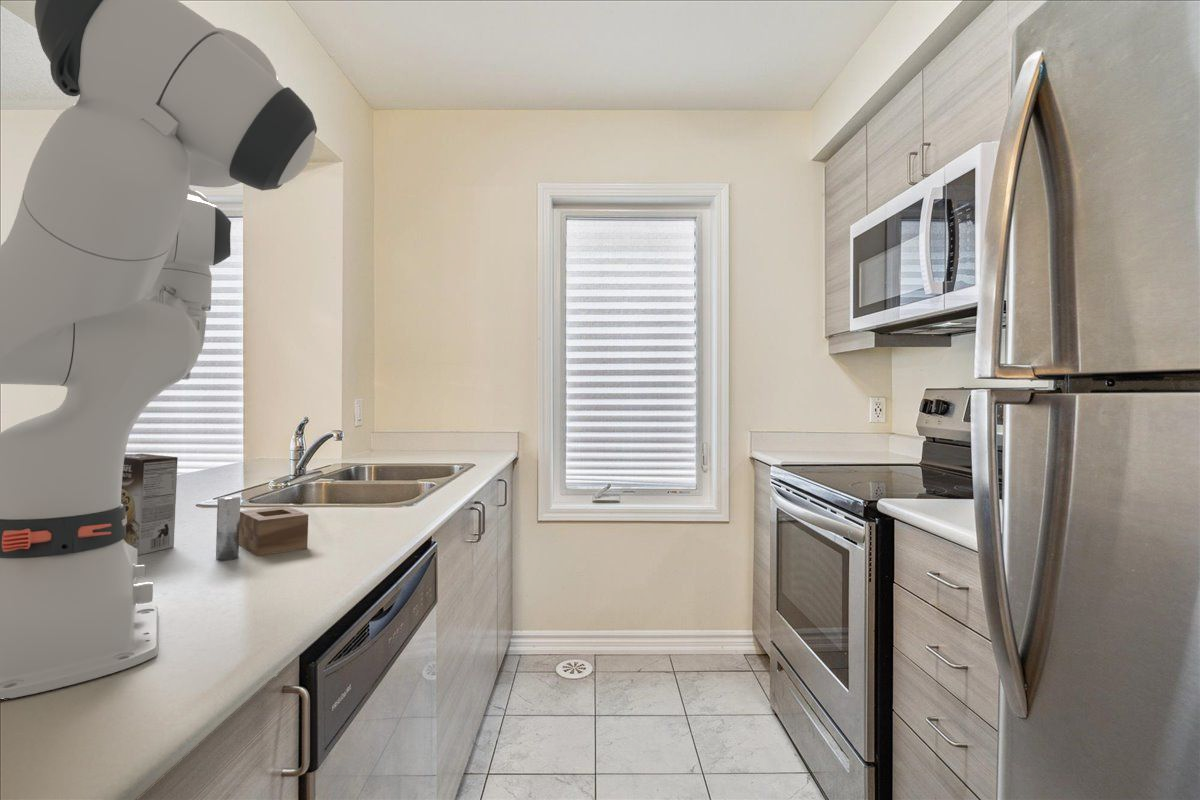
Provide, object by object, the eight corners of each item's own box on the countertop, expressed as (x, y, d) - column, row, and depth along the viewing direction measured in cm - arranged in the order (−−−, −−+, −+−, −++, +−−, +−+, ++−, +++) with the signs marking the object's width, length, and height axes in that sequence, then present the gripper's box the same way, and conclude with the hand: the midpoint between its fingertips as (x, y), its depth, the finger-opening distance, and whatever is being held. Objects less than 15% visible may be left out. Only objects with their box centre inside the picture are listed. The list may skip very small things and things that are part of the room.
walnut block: (307, 547, 104) (308, 514, 104) (258, 555, 98) (259, 520, 98) (285, 537, 110) (286, 506, 110) (238, 544, 104) (239, 511, 104)
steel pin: (241, 558, 96) (243, 498, 96) (219, 561, 94) (221, 500, 94) (235, 554, 98) (236, 495, 98) (213, 557, 96) (215, 497, 96)
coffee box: (99, 550, 98) (101, 455, 98) (139, 541, 104) (141, 452, 104) (137, 556, 95) (140, 458, 95) (176, 546, 102) (179, 455, 101)
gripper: (187, 284, 84) (185, 378, 84) (212, 303, 103) (211, 380, 103) (133, 279, 81) (131, 376, 82) (169, 299, 100) (167, 379, 100)
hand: (176, 379), depth 92 cm, fingers open, 8 cm apart
